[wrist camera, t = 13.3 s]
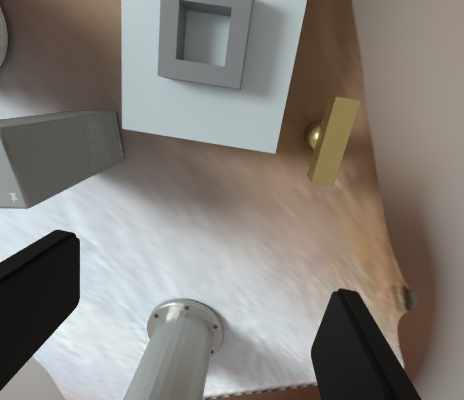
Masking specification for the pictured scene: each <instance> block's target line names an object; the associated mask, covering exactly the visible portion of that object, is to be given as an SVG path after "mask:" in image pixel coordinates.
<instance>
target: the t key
mask: <svg viewBox="0 0 464 400" xmlns="http://www.w3.org/2000/svg"><path fill="white" fill-rule="evenodd" d="M359 105H360V101H359V100H353V99H347V98H341V97H328V101H327V105H326V108H325V112H324V116H323V119H322V122H314V123H312V124H310V125H309V126H308V127H307V128H306V130H305V133H304V139H305V142H306V143H307V144H308V145H309V146H310V147H311V148H313V149H314V152H313V155H312V159H311V163H310V166H309V170H308V174H307V177H308V178H309V180H310V181H311V182H312V183H317V184H323V185H329V186H334V183H335V180H336V177H337V174H338V170H339V167H340V164H341V161H342V158H343V155H344V152H345V148H346V145H347V142H348V139H349V136H350V133H351V130H352V127H353V123H354V120H355V117H356V114H357V111H358V108H359Z"/></svg>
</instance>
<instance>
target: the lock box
mask: <svg viewBox="0 0 464 400" xmlns="http://www.w3.org/2000/svg"><path fill="white" fill-rule="evenodd" d="M306 3H307V0H122V129H127V130H133V131H139V132H145V133H151V134H157V135H163V136H170V137H176V138H182V139H188V140H194V141H200V142H206V143H213V144H219V145H225V146H231V147H237V148H243V149H249V150H256V151H262V152H268V153H274V154H275V153H276V148H277V143H278V138H279V134H280V129H281V124H282V119H283V114H284V109H285V105H286V100H287V95H288V90H289V85H290V81H291V76H292V71H293V66H294V61H295V56H296V52H297V47H298V42H299V37H300V32H301V27H302V23H303V18H304V13H305V8H306Z"/></svg>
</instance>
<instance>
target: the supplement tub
mask: <svg viewBox="0 0 464 400" xmlns="http://www.w3.org/2000/svg"><path fill="white" fill-rule="evenodd" d="M7 45H8V33H7V26H6V21H5V18H4V15H3V12H2V9H1V7H0V66H1V65H2V63H3V61H4V59H5V56H6V52H7Z"/></svg>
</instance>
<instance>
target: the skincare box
mask: <svg viewBox="0 0 464 400" xmlns="http://www.w3.org/2000/svg"><path fill="white" fill-rule="evenodd" d="M124 159H125V158H124V153H123V148H122V143H121V138H120V133H119V128H118V123H117V117H116V111H115V110H85V111H70V112H60V113H51V114H44V115H35V116H27V117H19V118H10V119H1V120H0V208H21V209H28V208H31V207H33V206H35V205H37V204H39V203H41V202H42V201H44V200H46V199H48V198H50V197H52V196H54V195H56V194H58V193H60V192H62V191H64V190H66V189H68V188H70V187H72V186H74V185H76V184H78V183H80V182H81V181H83V180H85V179H87V178H89V177H91V176H93V175H95V174H97V173H99V172H101V171H103V170H105V169H107V168H109V167H111V166H113V165H115V164H117V163H119V162H121V161H123V160H124Z"/></svg>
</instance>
